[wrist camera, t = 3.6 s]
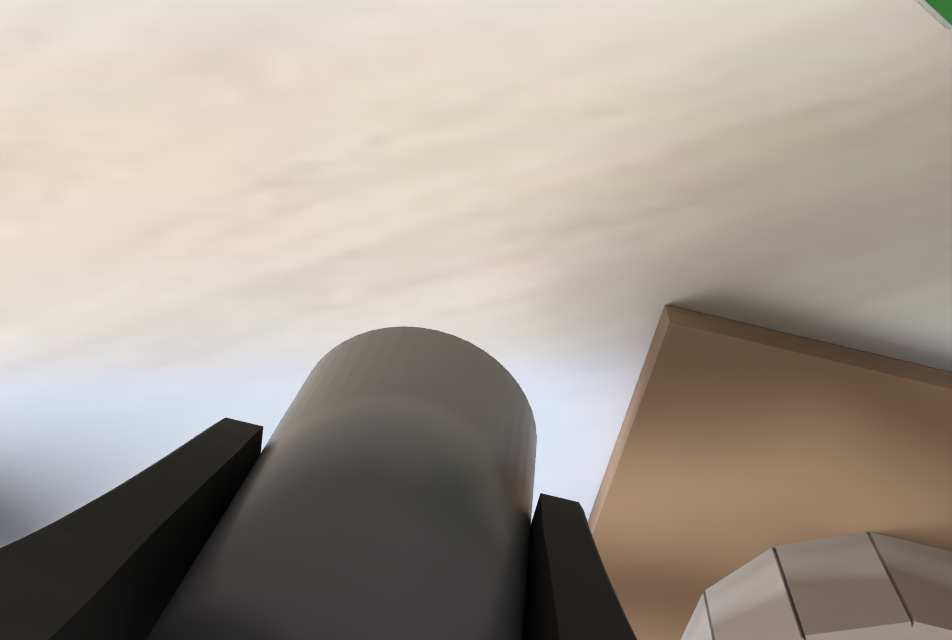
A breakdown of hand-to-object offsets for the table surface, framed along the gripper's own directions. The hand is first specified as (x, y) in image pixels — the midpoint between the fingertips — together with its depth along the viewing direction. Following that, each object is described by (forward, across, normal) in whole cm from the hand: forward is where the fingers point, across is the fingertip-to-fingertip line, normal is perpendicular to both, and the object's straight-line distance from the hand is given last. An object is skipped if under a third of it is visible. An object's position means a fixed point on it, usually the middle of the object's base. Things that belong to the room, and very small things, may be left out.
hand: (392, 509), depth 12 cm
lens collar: (+8, -13, +8) cm, 17 cm away
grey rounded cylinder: (+2, 0, 0) cm, 2 cm away
